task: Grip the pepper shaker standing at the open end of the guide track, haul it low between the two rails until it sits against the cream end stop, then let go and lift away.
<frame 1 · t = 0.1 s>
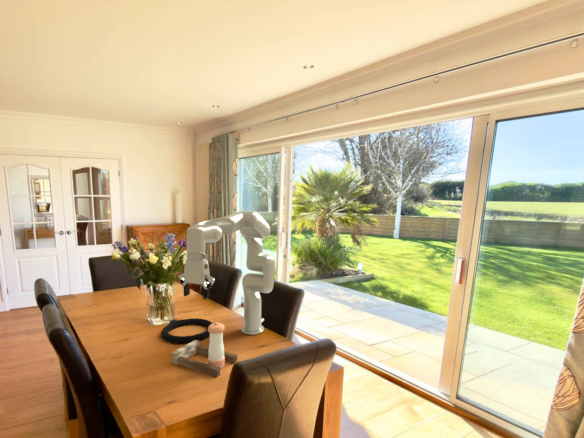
hand: (196, 296, 132), 31 cm above the table, tool pointing down, fingers open, 9 cm apart
cable lock: (187, 333, 171), on the table
pepper shaker: (216, 366, 137), on the table
guide track: (205, 362, 140), on the table
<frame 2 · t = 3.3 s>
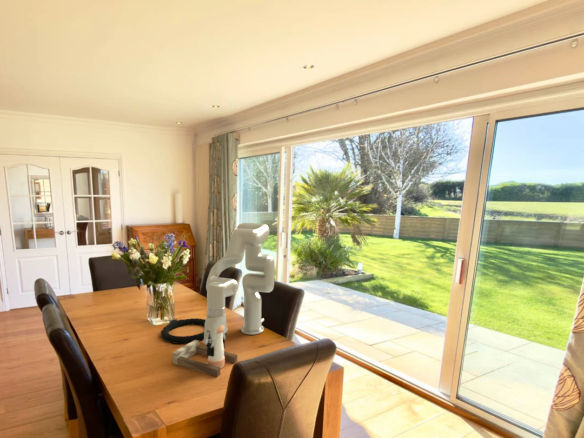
hand: (216, 351, 137), 6 cm above the table, tool pointing down, fingers closed on pepper shaker, 6 cm apart
pepper shaker: (216, 366, 137), on the table, touching gripper
everything else where it was.
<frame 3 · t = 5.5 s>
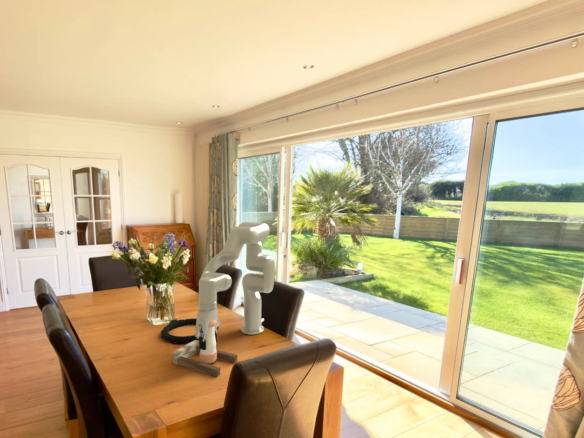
hand: (208, 345, 139), 8 cm above the table, tool pointing down, fingers closed on pepper shaker, 6 cm apart
pepper shaker: (208, 359, 139), point 2 cm above the table, touching gripper
everything else where it was.
when the fingers open (7 cm above the table, at t = 7.9 s): pepper shaker stays where it is, on the table.
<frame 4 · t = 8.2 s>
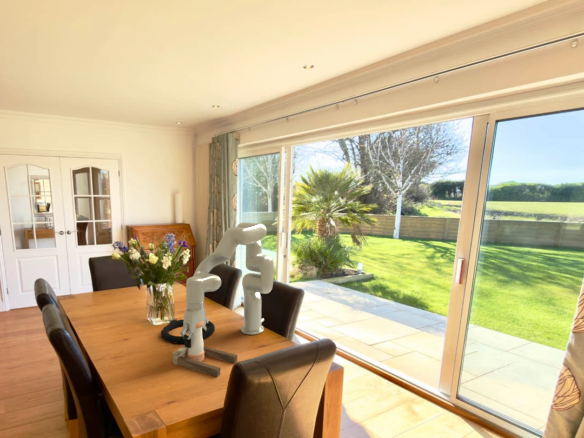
hand: (195, 342, 141), 8 cm above the table, tool pointing down, fingers open, 9 cm apart
pepper shaker: (196, 359, 142), on the table
everything else where it was.
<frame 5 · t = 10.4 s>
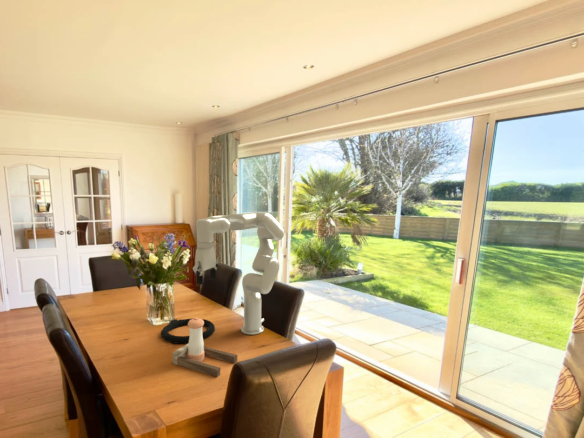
hand: (206, 281, 149), 33 cm above the table, tool pointing down, fingers open, 9 cm apart
nothing on the table moved.
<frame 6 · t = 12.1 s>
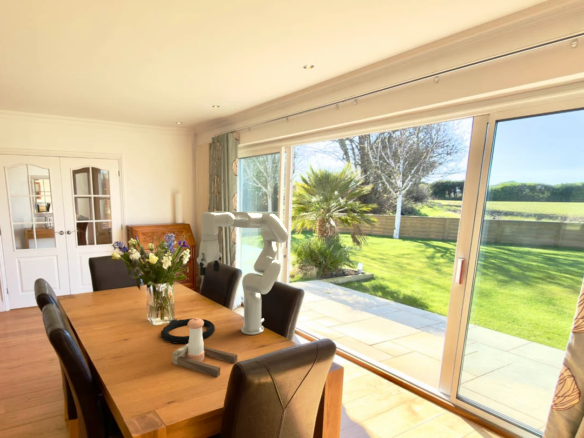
hand: (210, 273, 153), 36 cm above the table, tool pointing down, fingers open, 9 cm apart
nothing on the table moved.
at the end: pepper shaker 0.5 cm from the target spot, on the table; pepper shaker tilted 0°; the gripper is holding nothing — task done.
